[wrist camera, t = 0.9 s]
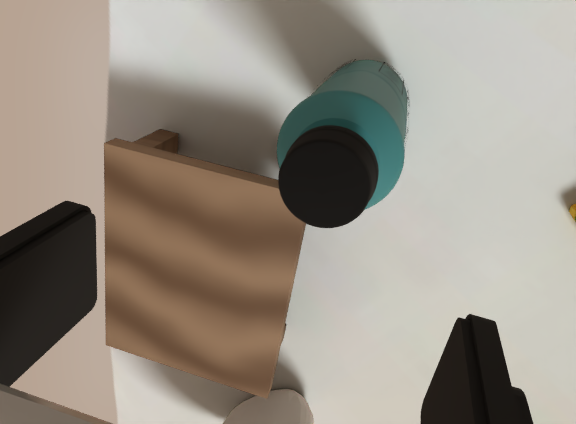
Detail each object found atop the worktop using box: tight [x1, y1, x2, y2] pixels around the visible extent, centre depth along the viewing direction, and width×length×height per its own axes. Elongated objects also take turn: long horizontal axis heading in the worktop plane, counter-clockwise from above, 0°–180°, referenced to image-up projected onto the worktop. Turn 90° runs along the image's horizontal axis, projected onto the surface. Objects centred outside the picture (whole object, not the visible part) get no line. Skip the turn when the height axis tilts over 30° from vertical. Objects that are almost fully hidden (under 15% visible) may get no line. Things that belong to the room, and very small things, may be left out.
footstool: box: [104, 129, 306, 399], centre depth 42 cm, size 20×16×8 cm
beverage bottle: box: [277, 59, 410, 228], centre depth 27 cm, size 6×7×20 cm
